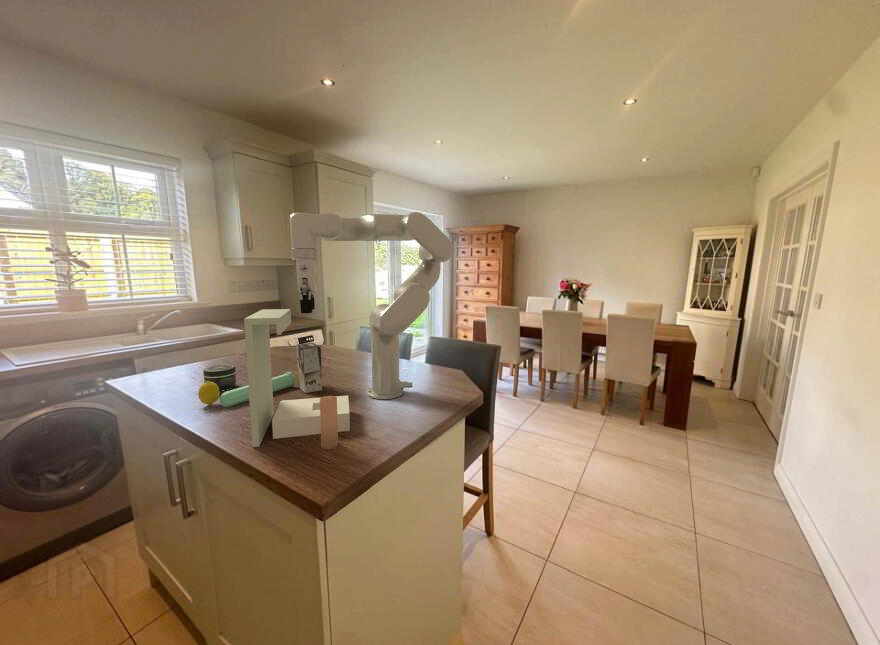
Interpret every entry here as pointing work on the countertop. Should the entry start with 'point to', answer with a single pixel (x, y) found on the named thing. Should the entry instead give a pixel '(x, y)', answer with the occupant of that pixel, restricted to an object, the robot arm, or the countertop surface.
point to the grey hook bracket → (261, 366)
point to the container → (243, 392)
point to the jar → (221, 376)
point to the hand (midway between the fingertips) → (308, 311)
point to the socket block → (306, 417)
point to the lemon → (208, 393)
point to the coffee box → (309, 367)
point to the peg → (329, 422)
